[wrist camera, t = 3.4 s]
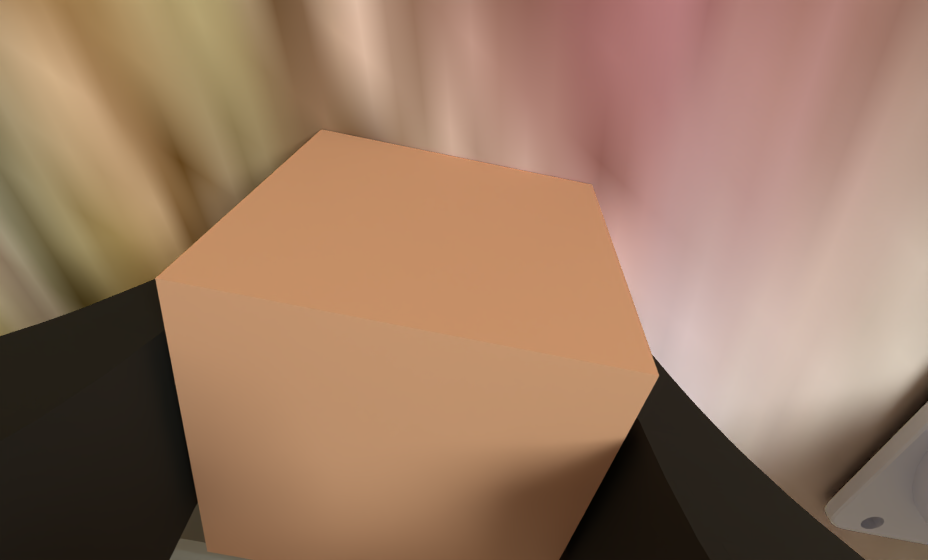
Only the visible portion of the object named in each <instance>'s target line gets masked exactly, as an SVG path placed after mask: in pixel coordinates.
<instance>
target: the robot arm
mask: <svg viewBox="0 0 928 560" xmlns="http://www.w3.org/2000/svg"><path fill="white" fill-rule="evenodd" d="M652 357H653V359H654V362H655V365H656V368H657V371H658V374H659V377H658V379H657V381H656V383H655V384H654V386H653V388H652V390H651V392H650V394H649V396H648V397H647V399H646V401H645V403H644V405H643V407H642V408H641V410H640V412H639V414H638V416H637V418H636V419H635V421H634V423H633V425H632V427H631V429H630V430H629V432H628V434H627V436H626V438H625V440H624V441H623V443H622V445H621V447H620V449H619V451H618V453H617V454H616V456H615V458H614V460H613V462H612V464H611V465H610V467H609V469H608V471H607V473H606V475H605V476H604V478H603V480H602V482H601V484H600V486H599V487H598V489H597V491H596V493H595V495H594V497H593V498H592V500H591V502H590V504H589V506H588V508H587V509H586V511H585V513H584V515H583V517H582V519H581V521H580V522H579V524H578V526H577V528H576V530H575V532H574V533H573V535H572V537H571V539H570V541H569V543H568V544H567V546H566V548H565V550H564V552H563V554H562V555H561V557H560V559H559V560H865V559H864V558H862V557H861V556H860V555H859V554H858V553H856V552H855V551H854V550H853V549H851V548H850V547H849V546H848V545H847V544H845V543H844V542H843V541H842V540H840V539H839V538H838V537H837V536H836V535H834V534H833V533H832V532H831V531H829V530H828V529H827V528H826V527H825V526H823V525H822V524H821V523H820V522H818V521H817V520H816V519H815V518H814V517H813V516H811V515H810V514H809V513H808V512H807V511H806V510H804V509H803V508H802V507H801V506H800V505H799V504H797V503H796V502H795V501H794V500H793V499H792V498H791V497H789V496H788V495H787V494H786V493H785V492H784V491H783V490H782V489H781V488H780V487H779V486H777V485H776V484H775V483H774V482H773V481H772V480H771V479H770V478H769V477H768V476H767V475H766V474H764V473H763V472H762V471H761V470H760V469H759V468H758V467H757V466H756V465H755V464H754V463H753V462H751V461H750V460H749V459H748V458H747V457H746V456H745V455H744V454H743V453H742V452H741V451H740V450H739V449H738V448H737V447H736V446H735V445H734V444H733V443H732V442H731V441H730V440H729V439H728V438H727V437H726V436H725V435H724V434H723V433H722V432H721V431H720V430H719V429H718V428H717V427H716V426H715V425H714V424H713V422H712V421H711V420H710V419H709V418H708V417H707V416H706V415H705V414H704V413H703V412H702V411H701V410H700V409H699V408H698V407H697V406H696V405H695V403H694V402H693V401H692V400H691V399H690V398H689V397H688V396H687V395H686V393H685V392H684V391H683V390H682V389H681V388H680V387H679V386H678V384H677V383H676V382H675V381H674V380H673V379H672V378H671V376H670V375H669V374H668V373H667V372H666V371H665V369H664V368H663V367H662V366H661V365H660V363H659V362H658V361H657V360H656V359H655V357H654V356H653V355H652ZM197 503H198V500H197V495H196V490H195V484H194V479H193V474H192V469H191V463H190V458H189V453H188V448H187V442H186V437H185V432H184V427H183V421H182V416H181V411H180V406H179V400H178V395H177V390H176V385H175V379H174V374H173V369H172V364H171V358H170V353H169V348H168V343H167V337H166V332H165V327H164V322H163V316H162V311H161V306H160V301H159V295H158V290H157V285H156V280H155V279H154V280H152V281H149V282H147V283H144V284H142V285H139V286H137V287H134V288H132V289H129V290H127V291H124V292H122V293H119V294H117V295H114V296H112V297H109V298H107V299H104V300H102V301H100V302H97V303H95V304H92V305H90V306H87V307H85V308H82V309H79V310H77V311H74V312H71V313H68V314H66V315H63V316H60V317H57V318H54V319H51V320H49V321H46V322H43V323H40V324H37V325H34V326H31V327H28V328H24V329H21V330H18V331H15V332H12V333H9V334H6V335H3V336H0V560H170V558H171V556H172V554H173V552H174V550H175V548H176V546H177V543H178V541H179V539H180V537H181V535H182V533H183V531H184V529H185V527H186V525H187V523H188V521H189V519H190V517H191V515H192V513H193V511H194V509H195V507H196V505H197ZM825 513H826V515H827V516H828V518H829V520H830V522H831V523H832V524H833V525H834V526H835V527H838V528H841V529H845V530H850V531H855V532H861V533H866V534H872V535H877V536H882V537H888V538H893V539H898V540H904V541H909V542H915V543H920V544H925V545H928V401H927V402H926V404H925V405H924V406H923V407H922V408H921V409H920V410H919V411H918V412H917V413H916V414H915V415H914V416H913V417H912V418H911V419H910V420H909V421H908V422H907V423H906V424H905V425H904V426H903V427H902V428H901V429H900V430H899V431H898V432H897V433H896V434H895V435H894V436H893V437H892V438H891V439H890V440H889V441H888V442H887V443H886V444H885V445H884V446H883V447H882V448H881V449H880V450H879V451H878V452H877V453H876V454H875V455H874V456H873V457H872V458H871V459H870V460H869V461H868V462H867V463H866V464H865V465H864V466H863V467H862V468H861V469H860V470H859V471H858V472H857V473H856V474H855V475H854V476H853V477H852V478H851V479H850V480H849V481H848V482H847V483H846V484H845V485H844V486H843V487H842V489H841V490H840V491H839V492H838V493H837V494H836V495H835V496H834V497H833V498H832V499H831V500H830V501H829V502H828V503H827V505H826V506H825Z"/></svg>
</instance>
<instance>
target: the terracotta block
mask: <svg viewBox="0 0 928 560" xmlns="http://www.w3.org/2000/svg"><path fill="white" fill-rule="evenodd" d="M155 280H156V285H157V290H158V295H159V301H160V306H161V311H162V316H163V322H164V327H165V332H166V337H167V343H168V348H169V353H170V358H171V364H172V369H173V374H174V379H175V385H176V390H177V395H178V400H179V406H180V411H181V416H182V421H183V427H184V432H185V437H186V442H187V448H188V453H189V458H190V463H191V469H192V474H193V479H194V484H195V490H196V495H197V500H198V505H199V511H200V516H201V521H202V526H203V532H204V537H205V542H206V547H207V552H212V553H218V554H223V555H229V556H234V557H240V558H246V559H251V560H559V559H560V557H561V555H562V554H563V552H564V550H565V548H566V546H567V544H568V543H569V541H570V539H571V537H572V535H573V533H574V532H575V530H576V528H577V526H578V524H579V522H580V521H581V519H582V517H583V515H584V513H585V511H586V509H587V508H588V506H589V504H590V502H591V500H592V498H593V497H594V495H595V493H596V491H597V489H598V487H599V486H600V484H601V482H602V480H603V478H604V476H605V475H606V473H607V471H608V469H609V467H610V465H611V464H612V462H613V460H614V458H615V456H616V454H617V453H618V451H619V449H620V447H621V445H622V443H623V441H624V440H625V438H626V436H627V434H628V432H629V430H630V429H631V427H632V425H633V423H634V421H635V419H636V418H637V416H638V414H639V412H640V410H641V408H642V407H643V405H644V403H645V401H646V399H647V397H648V396H649V394H650V392H651V390H652V388H653V386H654V384H655V383H656V381H657V379H658V377H659V374H658V371H657V368H656V365H655V362H654V359H653V357H652V354H651V351H650V348H649V345H648V342H647V340H646V337H645V334H644V331H643V328H642V325H641V323H640V320H639V317H638V314H637V311H636V308H635V306H634V303H633V300H632V297H631V294H630V291H629V289H628V286H627V283H626V280H625V277H624V274H623V271H622V269H621V266H620V263H619V260H618V257H617V254H616V252H615V249H614V246H613V243H612V240H611V237H610V235H609V232H608V229H607V226H606V223H605V220H604V218H603V215H602V212H601V209H600V206H599V203H598V201H597V198H596V195H595V192H594V189H593V186H592V185H591V184H586V183H581V182H577V181H572V180H567V179H562V178H557V177H552V176H547V175H542V174H537V173H532V172H528V171H523V170H518V169H513V168H508V167H503V166H498V165H493V164H488V163H484V162H479V161H474V160H469V159H464V158H459V157H454V156H449V155H444V154H439V153H435V152H430V151H425V150H420V149H415V148H410V147H405V146H400V145H395V144H391V143H386V142H381V141H376V140H371V139H366V138H361V137H356V136H351V135H347V134H342V133H337V132H332V131H327V130H322V129H321V130H320V131H319V132H318V133H317V134H316V135H314V136H313V137H312V138H311V139H310V140H309V141H308V142H307V143H306V144H304V145H303V146H302V147H301V148H300V149H299V150H298V151H297V152H295V153H294V154H293V155H292V156H291V157H290V158H289V159H288V160H287V161H285V162H284V163H283V164H282V165H281V166H280V167H279V168H278V169H277V170H275V171H274V172H273V173H272V174H271V175H270V176H269V177H268V178H266V179H265V180H264V181H263V182H262V183H261V184H260V185H259V186H258V187H256V188H255V189H254V190H253V191H252V192H251V193H250V194H249V195H248V196H246V197H245V198H244V199H243V200H242V201H241V202H240V203H239V204H237V205H236V206H235V207H234V208H233V209H232V210H231V211H230V212H229V213H227V214H226V215H225V216H224V217H223V218H222V219H221V220H220V221H219V222H217V223H216V224H215V225H214V226H213V227H212V228H211V229H210V230H209V231H207V232H206V233H205V234H204V235H203V236H202V237H201V238H200V239H198V240H197V241H196V242H195V243H194V244H193V245H192V246H191V247H190V248H188V249H187V250H186V251H185V252H184V253H183V254H182V255H181V256H180V257H178V258H177V259H176V260H175V261H174V262H173V263H172V264H171V265H169V266H168V267H167V268H166V269H165V270H164V271H163V272H162V273H161V274H159V275H158V276H157V277H156V278H155Z"/></svg>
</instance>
